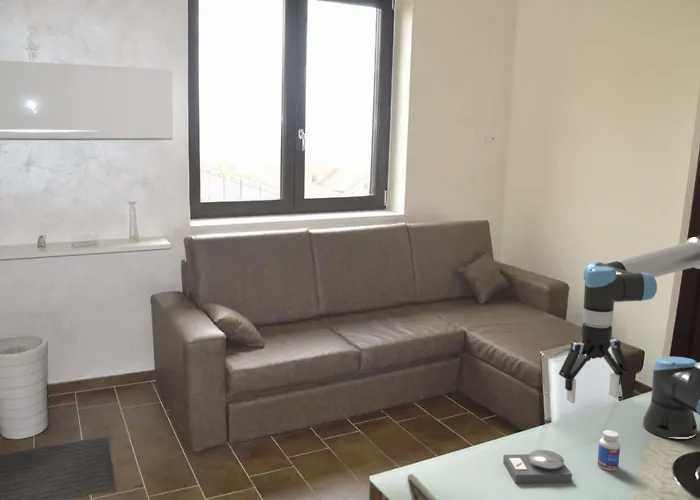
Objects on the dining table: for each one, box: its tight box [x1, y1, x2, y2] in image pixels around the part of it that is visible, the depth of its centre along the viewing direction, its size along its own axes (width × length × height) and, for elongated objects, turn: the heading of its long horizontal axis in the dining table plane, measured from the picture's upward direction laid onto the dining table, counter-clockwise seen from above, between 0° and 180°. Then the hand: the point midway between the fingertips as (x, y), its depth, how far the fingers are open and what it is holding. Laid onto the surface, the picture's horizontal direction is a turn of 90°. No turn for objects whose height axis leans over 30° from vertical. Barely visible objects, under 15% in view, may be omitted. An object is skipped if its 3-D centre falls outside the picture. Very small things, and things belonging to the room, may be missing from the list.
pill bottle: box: [597, 429, 621, 472], centre depth 175 cm, size 6×5×10 cm
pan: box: [529, 449, 565, 470], centre depth 171 cm, size 9×9×1 cm
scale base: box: [502, 453, 573, 484], centre depth 172 cm, size 15×11×3 cm
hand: (592, 398), depth 174 cm, fingers open, 13 cm apart
